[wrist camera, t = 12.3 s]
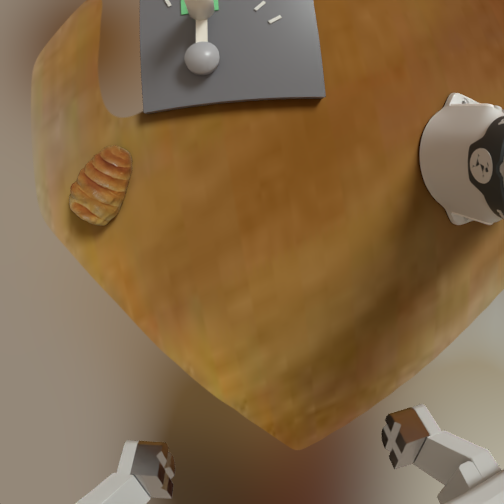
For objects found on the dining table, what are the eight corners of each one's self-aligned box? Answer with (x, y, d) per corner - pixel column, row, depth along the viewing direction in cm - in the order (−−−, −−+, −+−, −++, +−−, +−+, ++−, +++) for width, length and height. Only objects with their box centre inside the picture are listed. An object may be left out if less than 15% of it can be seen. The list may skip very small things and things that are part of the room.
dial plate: (304, -27, 27) (307, -33, 25) (321, 98, 33) (326, 96, 31) (143, -13, 26) (139, -19, 25) (147, 114, 32) (143, 112, 30)
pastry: (104, 134, 33) (91, 134, 29) (148, 162, 34) (139, 164, 31) (71, 200, 35) (56, 206, 31) (111, 228, 36) (100, 236, 33)
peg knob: (220, 74, 30) (217, 55, 23) (186, 76, 29) (174, 59, 22) (218, -4, 26) (215, -35, 19) (186, -1, 26) (176, -31, 19)
